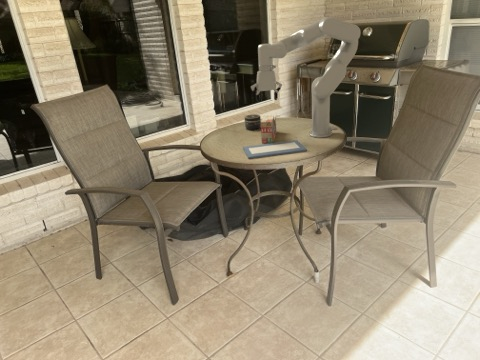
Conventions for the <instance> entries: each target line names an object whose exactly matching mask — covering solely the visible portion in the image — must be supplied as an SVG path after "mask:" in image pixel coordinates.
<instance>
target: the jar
mask: <svg viewBox="0 0 480 360" xmlns="http://www.w3.org/2000/svg"><path fill="white" fill-rule="evenodd" d="M261 120H262V117H261V115H259V114H247V115H245V116H244V127H245V129H246V130H247V131H257V130H259V129H260V130H261Z"/></svg>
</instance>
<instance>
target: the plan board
mask: <svg viewBox="0 0 480 360" xmlns="http://www.w3.org/2000/svg"><path fill="white" fill-rule="evenodd" d="M242 150H243V152H244V153H245V155H246V157H247V159H248V160H251V159H252V160H253V159H256V158H257V159H258V158H265V156H267V157H272V155H274V156H280V154H281V155H288V153H289V154H294V153H301V152H307V150H308V148H307V147H305V146H304V145H303V144H302V143H301V142H300V141H299V140H297V139H294V140H293V139H292V140H288V141H287V140H285V141H278V142H273V143H261V144H256V145H249V146H242Z"/></svg>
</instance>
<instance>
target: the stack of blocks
mask: <svg viewBox="0 0 480 360" xmlns="http://www.w3.org/2000/svg"><path fill="white" fill-rule="evenodd" d="M276 120H277V117H276V116H275V115H263V116H262V117H261V127H260V134H261V135H260V136H261V144H270V143H274V141H275V138H276V134H277V121H276Z"/></svg>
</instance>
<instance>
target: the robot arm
mask: <svg viewBox="0 0 480 360" xmlns="http://www.w3.org/2000/svg"><path fill="white" fill-rule="evenodd" d="M326 37H329V38H332V39H336V40H339V41H341V44H340V46H339V48H338V50H337V51H336V52H335V54H334V55H333V57H332V58H331V59H330V60H329V62H328V63H327V64H326V66H325V70H324V71H325V72H324V73H323V74H322V76H318V77H316V78H315V79H314V80H313V81H312V82H311V130H310V131H309V134H308V135H309V136H310V137H312V138H319V139H320V138H329V137H331V136H332V135H333V131H338V130H339V128H338V126H334V125H332V126H331V125H330V110H331V108H330V107H331V106H330V105H331V95H333V93H334V91H335V90H336V89H337V88H338V86H339V85H340V84H341V83H342V81H343V80H344V79H345V76H346V75H347V66H349V64H350V62H351V61H352V59H354V57H355V54H356V53H357V50H358V46H359V39H360V37H361V29H360V27H359V26H358V25H356V24H354V23H351V22H347V21H344V20H340V19H339V18H335V17H333V16H326V17H323V18H321V19H319V20H317V21H316V22H313V23H311V24H310V25H308V26H306V27H303V28H302V29H300V30H298V31H296V32H295V33H293V34H291V35H288V36H287V37H285V38H283V39H280V40H279V41H277V42H275V43H274V44H271V43H261V44H258V47H257V54H258V55H257V56H258V57H257V58H258V59H257V60H258V71H257V72H256V73H257V74H256V83H254V84H253V85H251V86H250V89H251V91H252V93H254V94H255V101H257V103H260V102H261V101H260V100H261V99H260V92H265V91H274V92H273V99H274V100H275V101H278V97H279V96H278V95H279V94H278V93H279V92H280V91H281V88H282V86H283V84H282V83H281V82H280V81H279V82H278V81H277V79H276V71H275V70H274V69H276V68H277V67H276V65H274V59H283V58H285V57H286V56H287V54H288V53H290V52H292V51H295V50H296V49H299V48H304V47H305V48H306V47H307V46H310V45H312V44H313V43H316V42H317V41H320V40H321V39H323V38H326ZM277 85H278V87H277ZM255 88H256V90H255Z"/></svg>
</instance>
